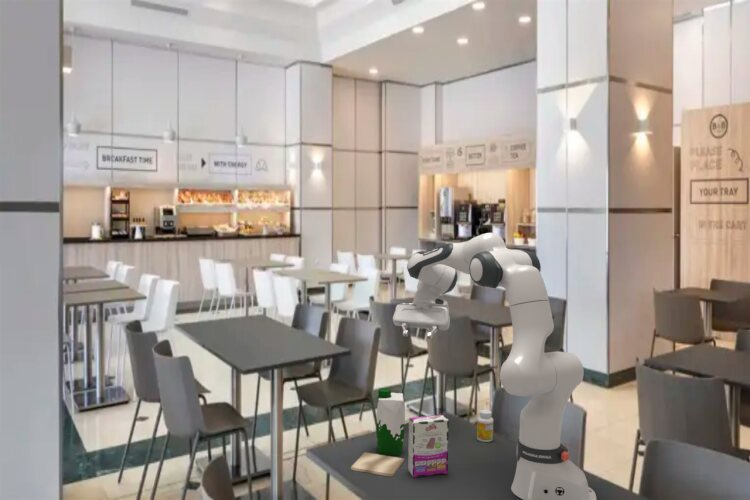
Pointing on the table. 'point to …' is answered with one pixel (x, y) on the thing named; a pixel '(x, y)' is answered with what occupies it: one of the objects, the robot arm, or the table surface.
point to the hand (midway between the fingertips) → (417, 336)
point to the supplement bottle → (485, 426)
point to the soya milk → (390, 422)
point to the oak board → (377, 464)
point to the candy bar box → (428, 445)
